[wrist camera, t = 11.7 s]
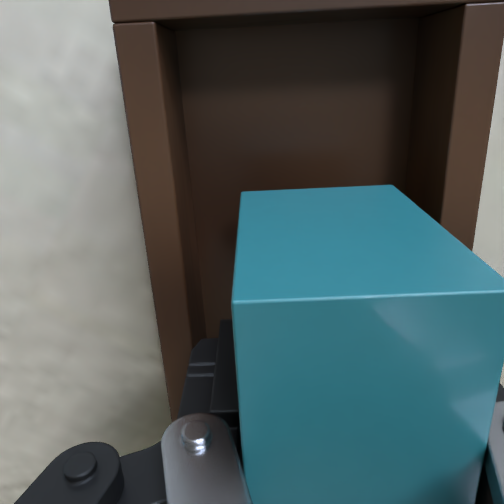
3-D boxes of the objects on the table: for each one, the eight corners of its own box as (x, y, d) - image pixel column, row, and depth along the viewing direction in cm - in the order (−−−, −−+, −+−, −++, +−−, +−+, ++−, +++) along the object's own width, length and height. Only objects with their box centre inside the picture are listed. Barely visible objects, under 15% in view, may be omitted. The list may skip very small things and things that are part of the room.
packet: (393, 184, 12) (520, 289, 6) (375, 422, 15) (449, 635, 9) (240, 191, 12) (230, 302, 6) (254, 426, 15) (255, 641, 9)
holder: (399, 454, 20) (430, 535, 17) (200, 462, 20) (189, 544, 17) (446, -20, 13) (518, -52, 10) (142, -3, 13) (103, -28, 10)
